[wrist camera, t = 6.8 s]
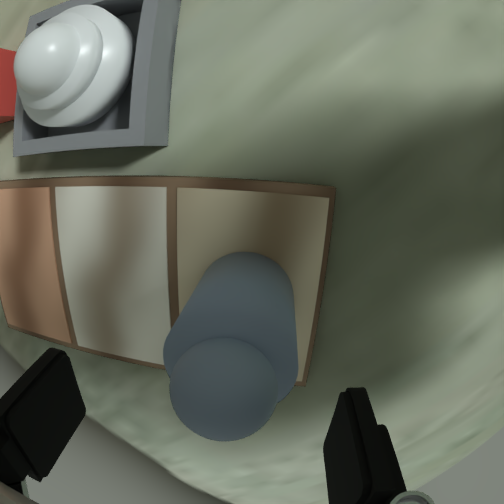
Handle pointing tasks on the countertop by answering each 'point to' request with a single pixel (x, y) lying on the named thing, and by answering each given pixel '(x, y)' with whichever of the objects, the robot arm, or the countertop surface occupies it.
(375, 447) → the robot arm
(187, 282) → the game track
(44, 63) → the dome
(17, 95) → the base
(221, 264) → the pawn
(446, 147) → the countertop surface
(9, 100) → the red die
